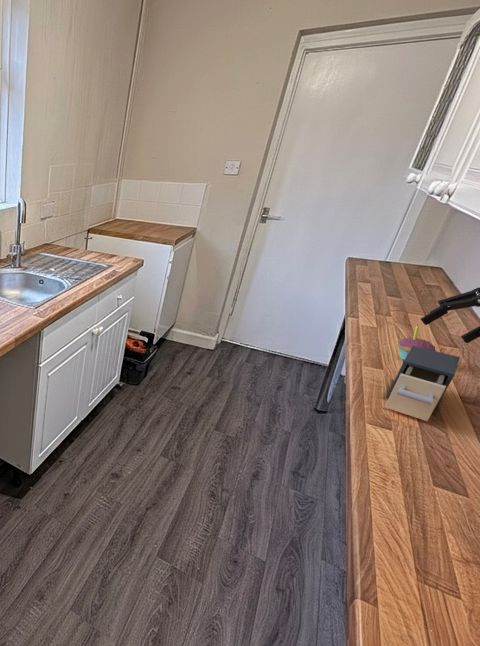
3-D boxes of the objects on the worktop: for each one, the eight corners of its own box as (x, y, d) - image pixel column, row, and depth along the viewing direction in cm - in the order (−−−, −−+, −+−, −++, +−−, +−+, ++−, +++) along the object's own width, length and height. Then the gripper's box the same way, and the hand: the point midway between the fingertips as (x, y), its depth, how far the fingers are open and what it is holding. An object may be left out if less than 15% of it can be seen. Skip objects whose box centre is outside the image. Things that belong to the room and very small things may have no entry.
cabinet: (433, 413, 107) (454, 374, 102) (386, 397, 113) (404, 360, 108) (440, 393, 115) (460, 357, 110) (395, 380, 121) (412, 345, 117)
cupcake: (394, 360, 133) (410, 326, 128) (389, 350, 139) (404, 318, 134) (432, 368, 128) (450, 333, 123) (425, 357, 134) (442, 324, 130)
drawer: (424, 429, 99) (443, 394, 95) (380, 413, 105) (396, 380, 101) (434, 402, 110) (451, 370, 106) (393, 389, 115) (408, 358, 111)
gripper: (580, 310, 111) (489, 357, 118) (484, 282, 133) (413, 322, 141) (569, 291, 109) (477, 339, 117) (474, 266, 132) (403, 307, 139)
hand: (442, 330), depth 129 cm, fingers open, 13 cm apart
